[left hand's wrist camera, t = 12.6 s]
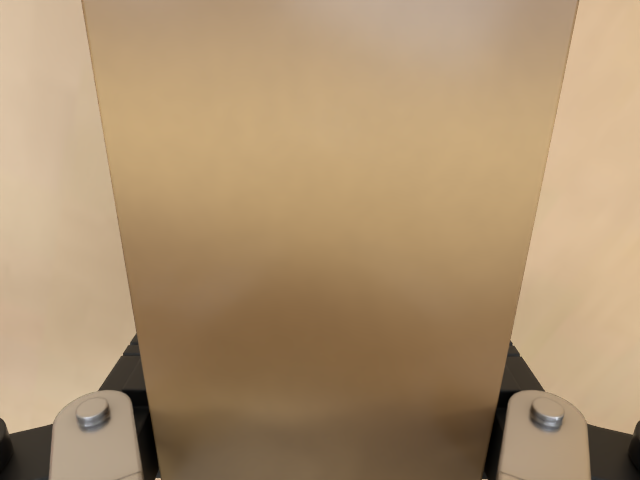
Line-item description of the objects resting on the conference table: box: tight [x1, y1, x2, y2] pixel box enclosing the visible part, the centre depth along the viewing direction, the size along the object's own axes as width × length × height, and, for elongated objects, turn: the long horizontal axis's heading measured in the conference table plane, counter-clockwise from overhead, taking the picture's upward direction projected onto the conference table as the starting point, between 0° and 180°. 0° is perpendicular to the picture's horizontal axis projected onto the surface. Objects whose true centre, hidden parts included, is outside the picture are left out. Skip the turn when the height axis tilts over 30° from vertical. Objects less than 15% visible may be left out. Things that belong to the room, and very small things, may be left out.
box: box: [81, 0, 579, 480], centre depth 10 cm, size 20×6×9 cm, turn 179°
